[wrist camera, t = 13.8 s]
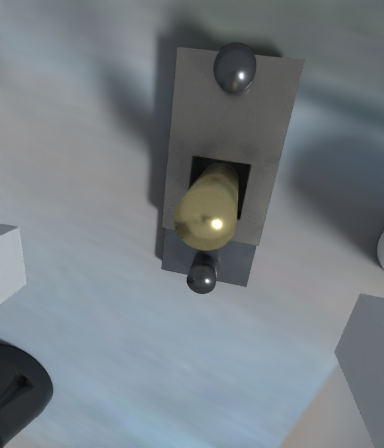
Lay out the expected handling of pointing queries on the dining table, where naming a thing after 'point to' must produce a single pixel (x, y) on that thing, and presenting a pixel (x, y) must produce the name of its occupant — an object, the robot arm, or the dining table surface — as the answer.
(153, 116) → the dining table surface
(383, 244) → the candle holder
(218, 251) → the toggle switch plate
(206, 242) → the toggle switch lever
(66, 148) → the dining table surface
